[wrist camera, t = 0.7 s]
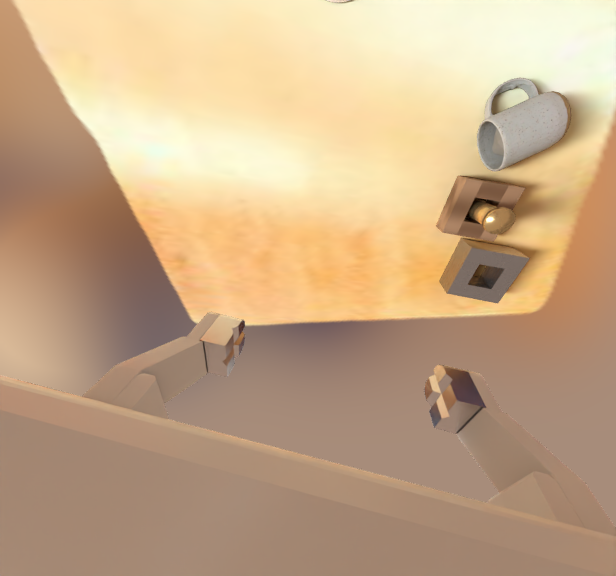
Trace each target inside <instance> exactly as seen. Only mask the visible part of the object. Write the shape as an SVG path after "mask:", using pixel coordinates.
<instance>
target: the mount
mask: <svg viewBox="0 0 616 576" xmlns="http://www.w3.org/2000/svg"><path fill="white" fill-rule="evenodd" d="M524 190H525V188H524V187H520V186H516V185H512V184H507V183H500V182H494V181H488V180H482V179H475V178H469V177H463V176H457V179H456V181H455V183H454V186H453V188H452V190H451V193H450V195H449V197H448V199H447V202H446V204H445V206H444V209H443V211H442V213H441V216H440V218H439V220H438V222H437V225H436V226H437V227H438V228H439V229H440V230H441V231H442V232H443V233H449V234H454V235H460V236H466V237H471V238H477V239H483V240H488V241H494V240H495V239H496V237H497V235H498V234H491V233H489V232H487V231H486V230H484V228H483V227H482V224H480V223H479V222H477V221H476V220H474V219H472V218H468V217H466V215H467V213H468V211H469V209H470V207H471V205H472V203H473V201H474V199H475V197H476V198H482V199H487V201H486V203H489V204H491V205H493V206H495V207H505V208H508V209H510V210H513V208H514V207H515V205H516V203H517V202H518V200H519V198H520V196H521V195H522V193H523V191H524Z"/></svg>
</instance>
